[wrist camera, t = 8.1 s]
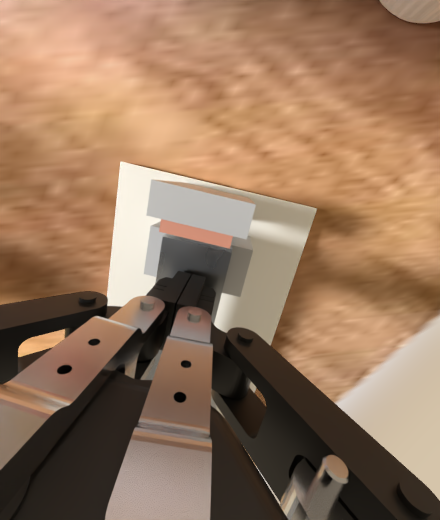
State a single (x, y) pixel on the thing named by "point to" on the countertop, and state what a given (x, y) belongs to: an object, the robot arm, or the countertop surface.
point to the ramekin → (414, 10)
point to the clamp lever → (193, 268)
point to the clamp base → (209, 242)
